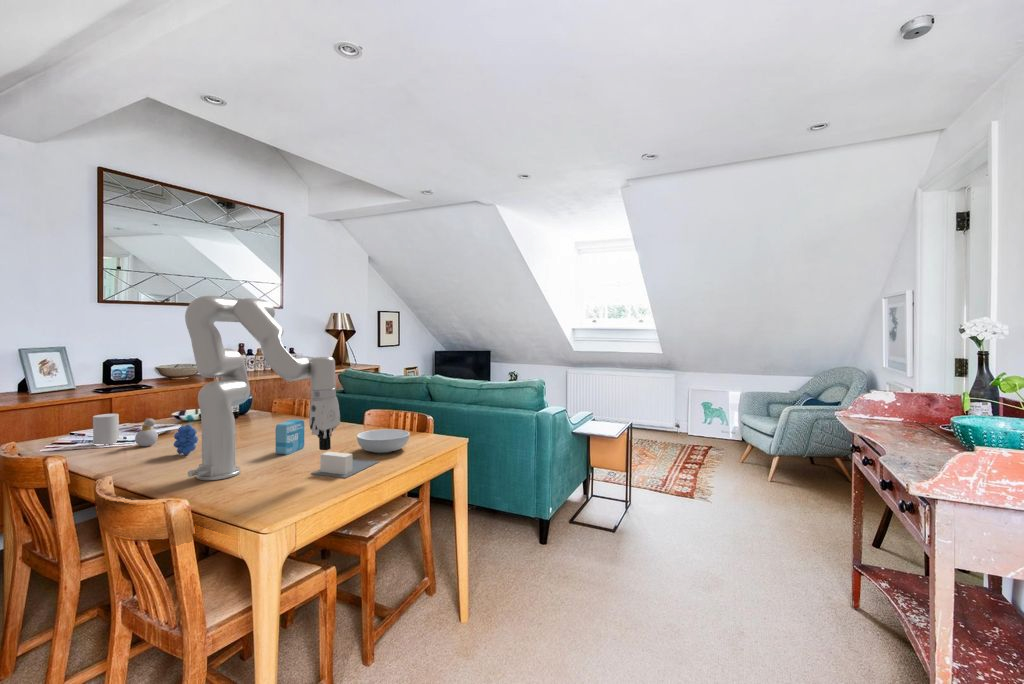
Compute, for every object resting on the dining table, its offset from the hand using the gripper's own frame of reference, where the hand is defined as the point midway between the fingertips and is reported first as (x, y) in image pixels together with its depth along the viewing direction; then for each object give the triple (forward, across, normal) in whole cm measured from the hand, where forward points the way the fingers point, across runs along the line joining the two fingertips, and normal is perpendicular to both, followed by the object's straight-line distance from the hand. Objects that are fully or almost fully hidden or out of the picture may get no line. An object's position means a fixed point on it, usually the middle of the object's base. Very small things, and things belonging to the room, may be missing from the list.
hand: (325, 449), depth 154 cm
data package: (+9, +23, +36) cm, 44 cm away
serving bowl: (+10, +37, +2) cm, 39 cm away
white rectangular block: (+9, +7, +1) cm, 12 cm away
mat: (+10, +12, +1) cm, 16 cm away
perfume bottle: (+8, +10, +96) cm, 97 cm away
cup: (+7, +7, +116) cm, 116 cm away
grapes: (+8, +6, +69) cm, 70 cm away
